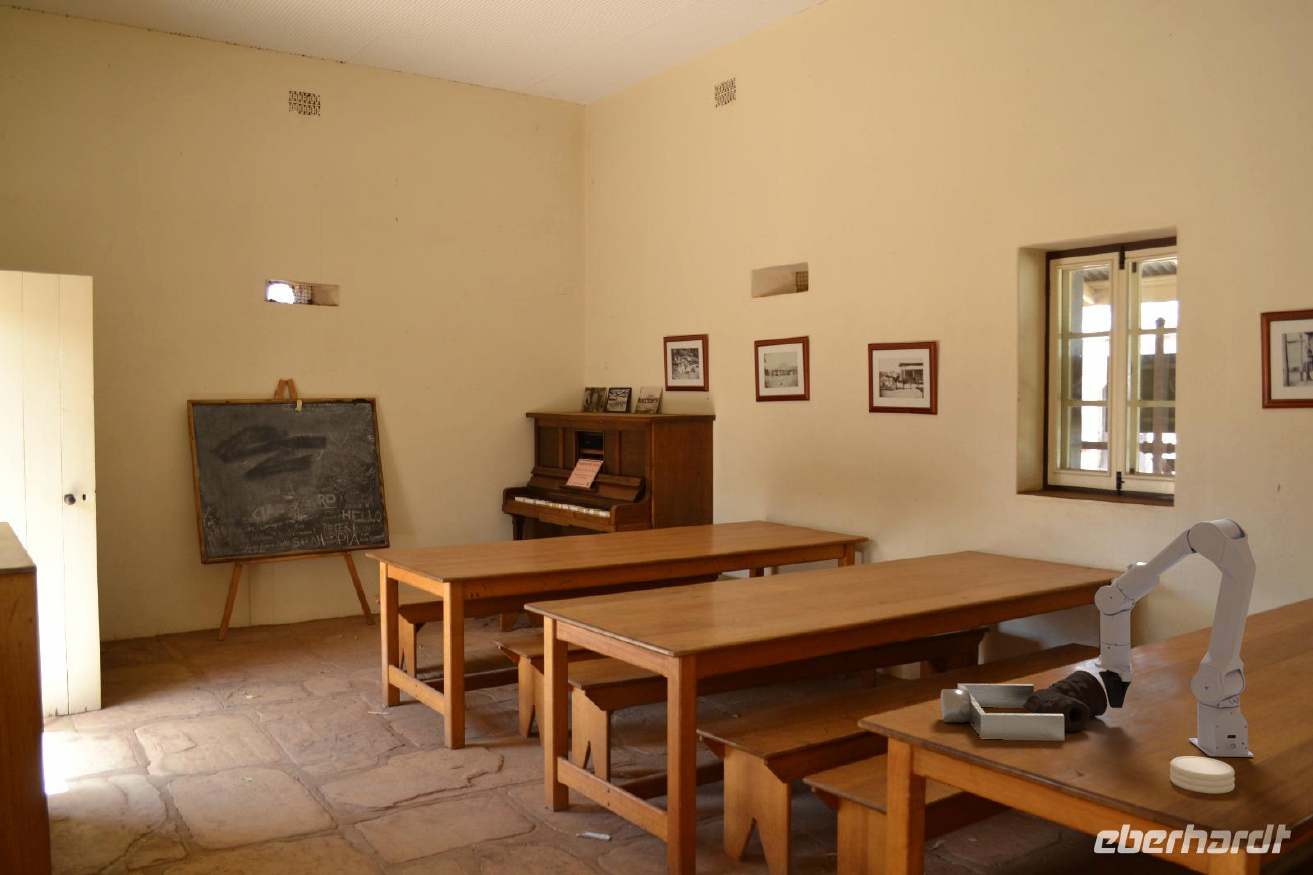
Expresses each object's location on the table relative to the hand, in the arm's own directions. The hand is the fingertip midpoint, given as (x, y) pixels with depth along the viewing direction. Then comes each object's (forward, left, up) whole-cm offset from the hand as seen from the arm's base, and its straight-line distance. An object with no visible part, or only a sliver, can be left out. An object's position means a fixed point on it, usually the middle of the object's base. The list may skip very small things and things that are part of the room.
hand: (1115, 707), depth 211 cm
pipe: (+1, +9, -4) cm, 10 cm away
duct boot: (0, +25, -3) cm, 25 cm away
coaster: (-34, -3, -4) cm, 34 cm away
